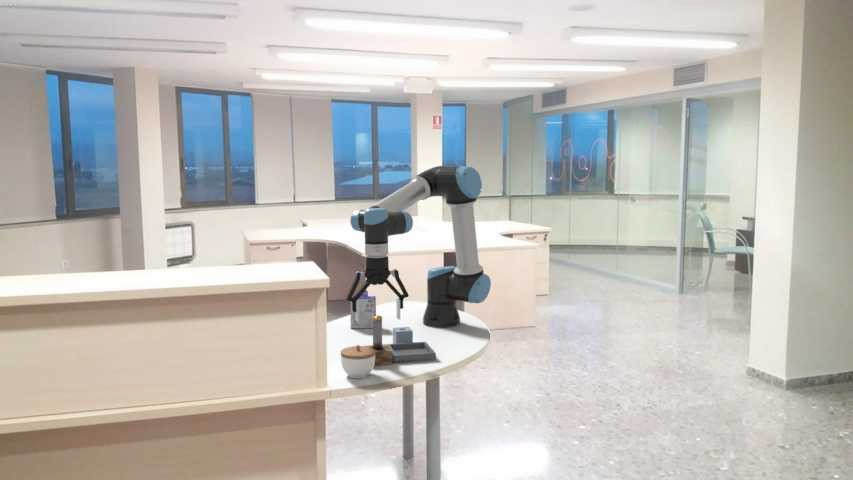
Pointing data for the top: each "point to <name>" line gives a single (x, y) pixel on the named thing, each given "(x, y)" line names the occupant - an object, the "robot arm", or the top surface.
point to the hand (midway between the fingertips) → (378, 320)
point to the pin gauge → (377, 332)
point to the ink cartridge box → (364, 311)
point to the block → (402, 335)
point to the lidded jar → (358, 360)
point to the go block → (383, 355)
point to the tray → (411, 352)
